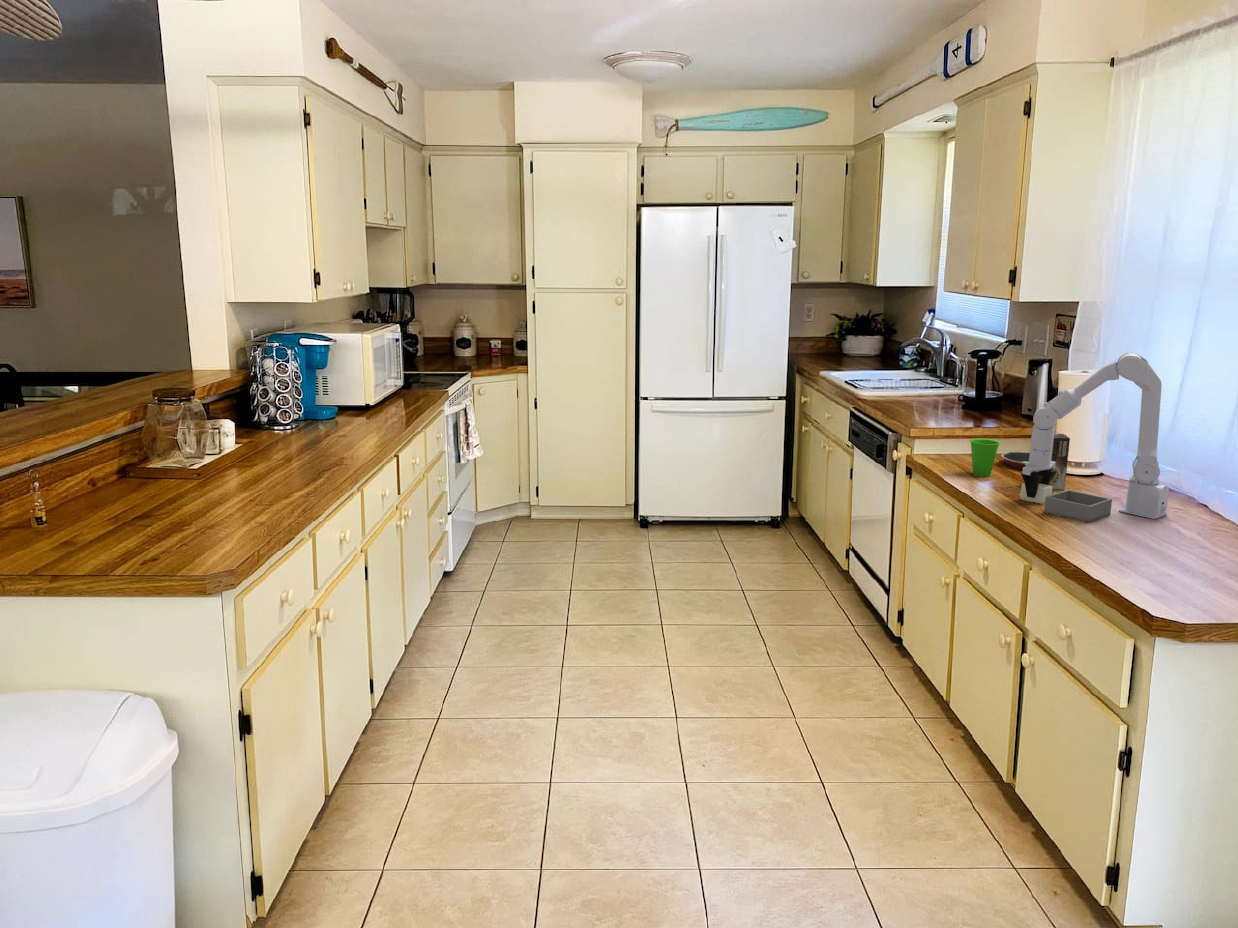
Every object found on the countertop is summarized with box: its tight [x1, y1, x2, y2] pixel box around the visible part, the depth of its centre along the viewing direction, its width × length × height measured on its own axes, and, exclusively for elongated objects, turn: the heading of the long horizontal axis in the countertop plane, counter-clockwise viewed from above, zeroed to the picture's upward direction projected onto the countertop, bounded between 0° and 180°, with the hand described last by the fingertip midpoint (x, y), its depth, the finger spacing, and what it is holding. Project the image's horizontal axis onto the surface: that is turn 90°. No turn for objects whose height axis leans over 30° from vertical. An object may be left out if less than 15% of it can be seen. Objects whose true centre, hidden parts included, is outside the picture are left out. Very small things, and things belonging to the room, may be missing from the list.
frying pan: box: [1000, 451, 1030, 471], centre depth 302 cm, size 19×32×4 cm, turn 177°
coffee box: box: [1049, 433, 1071, 491], centre depth 281 cm, size 9×6×16 cm
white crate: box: [1019, 483, 1053, 505], centre depth 267 cm, size 6×5×4 cm
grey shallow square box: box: [1043, 489, 1113, 524], centre depth 254 cm, size 12×12×4 cm
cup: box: [969, 438, 1001, 478], centre depth 295 cm, size 9×9×11 cm
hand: (1035, 495), depth 267 cm, fingers closed on white crate, 5 cm apart
